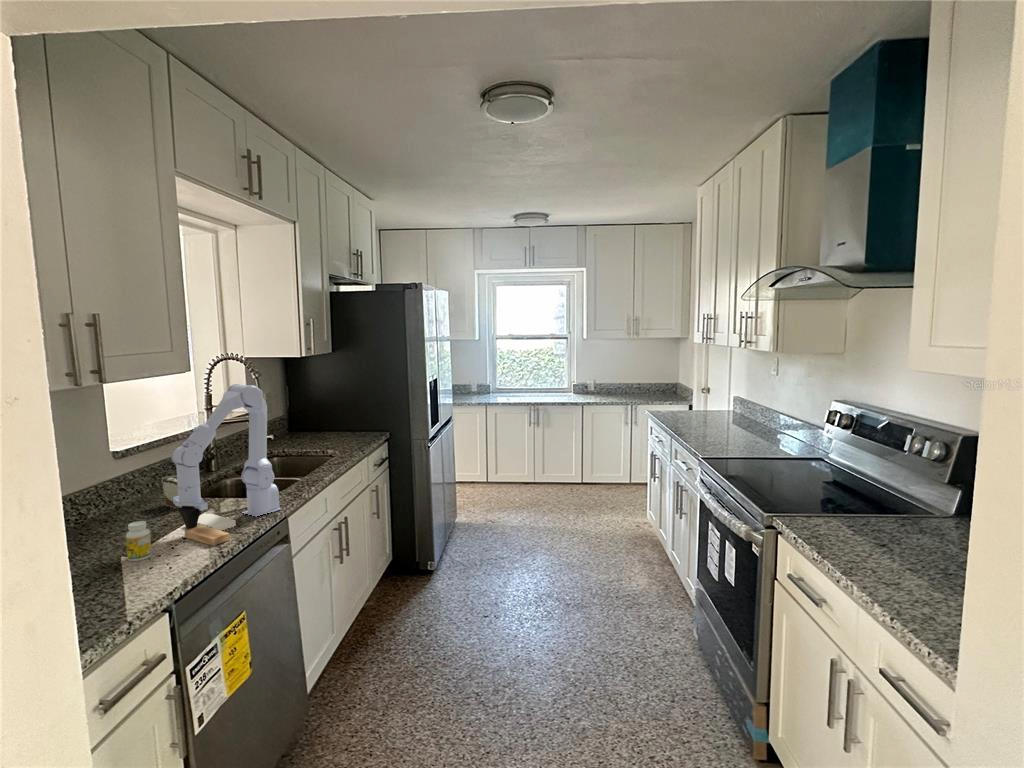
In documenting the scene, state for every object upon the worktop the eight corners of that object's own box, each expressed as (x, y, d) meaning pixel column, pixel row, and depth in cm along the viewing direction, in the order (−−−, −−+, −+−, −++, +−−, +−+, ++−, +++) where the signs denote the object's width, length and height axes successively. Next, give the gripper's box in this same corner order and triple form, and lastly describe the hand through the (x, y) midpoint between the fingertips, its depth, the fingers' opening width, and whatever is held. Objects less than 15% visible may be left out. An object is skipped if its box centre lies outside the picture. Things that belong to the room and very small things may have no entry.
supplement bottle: (155, 556, 144) (153, 522, 143) (133, 563, 139) (130, 528, 138) (145, 552, 146) (143, 518, 146) (123, 559, 142) (121, 524, 141)
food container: (199, 505, 187) (198, 477, 186) (181, 510, 181) (179, 482, 180) (181, 500, 193) (179, 473, 192) (163, 504, 188) (161, 477, 187)
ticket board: (209, 519, 173) (208, 512, 172) (235, 526, 166) (235, 519, 166) (185, 526, 166) (185, 519, 166) (212, 534, 159) (212, 527, 159)
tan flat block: (201, 531, 161) (201, 525, 161) (229, 539, 155) (229, 533, 154) (185, 536, 157) (184, 530, 157) (213, 545, 150) (212, 539, 150)
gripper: (161, 485, 158) (164, 529, 160) (189, 492, 151) (192, 538, 153) (185, 480, 164) (188, 522, 166) (213, 486, 157) (215, 530, 159)
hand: (191, 529), depth 160 cm, fingers closed
